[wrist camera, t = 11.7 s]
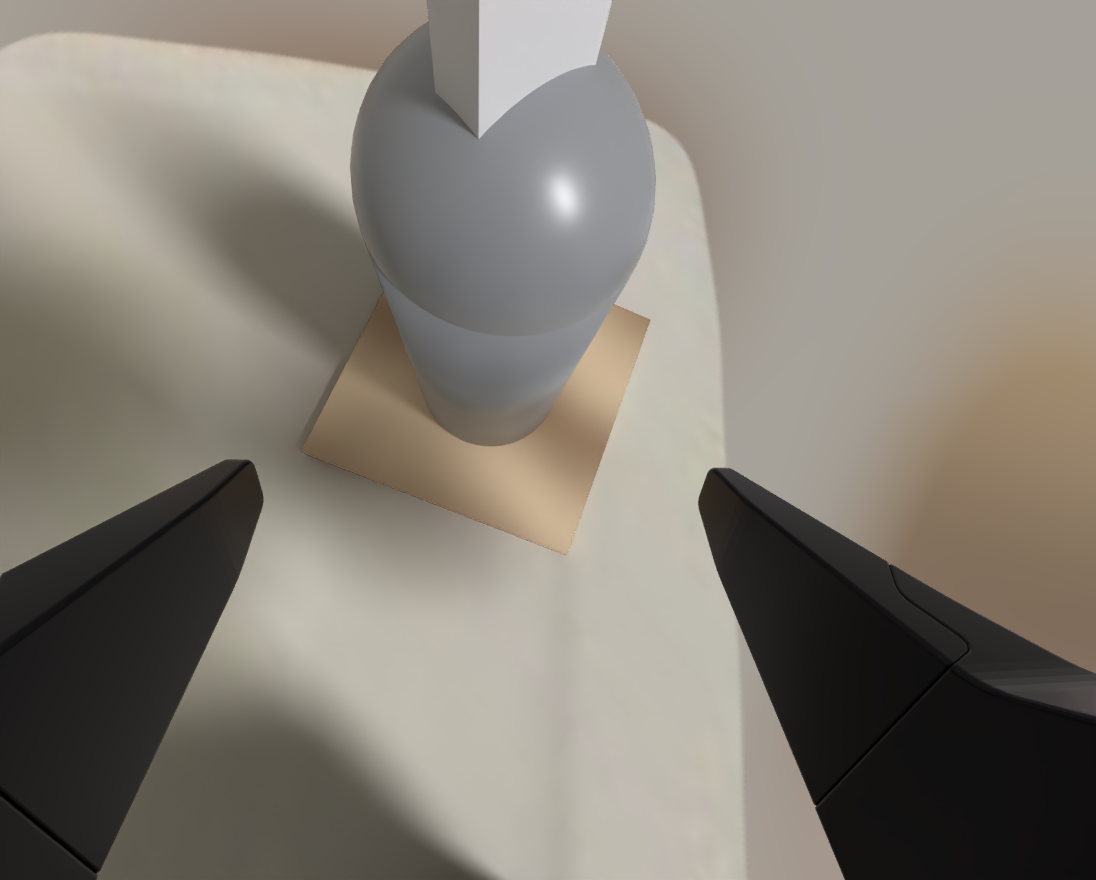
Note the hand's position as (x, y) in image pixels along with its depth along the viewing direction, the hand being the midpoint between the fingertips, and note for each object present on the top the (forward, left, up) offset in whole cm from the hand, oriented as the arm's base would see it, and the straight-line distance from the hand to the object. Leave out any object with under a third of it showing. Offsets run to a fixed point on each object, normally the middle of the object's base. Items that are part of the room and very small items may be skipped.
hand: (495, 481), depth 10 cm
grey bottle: (+4, +2, -8) cm, 9 cm away
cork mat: (+4, +2, -8) cm, 10 cm away
